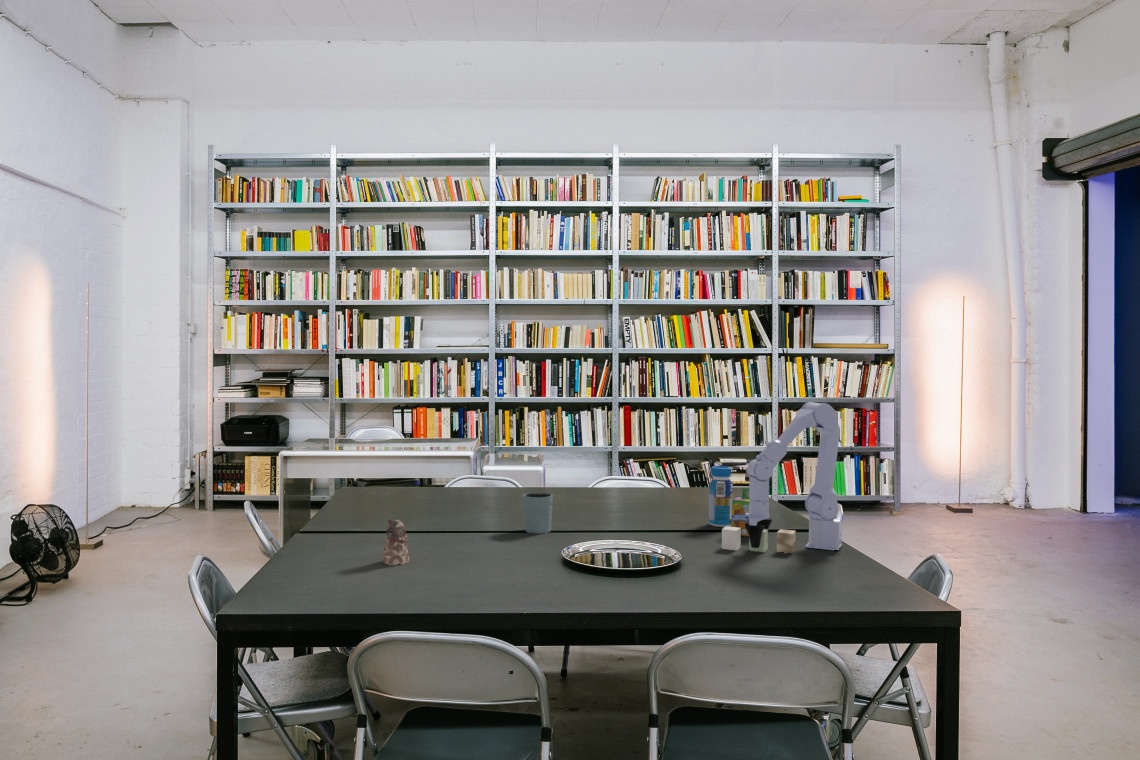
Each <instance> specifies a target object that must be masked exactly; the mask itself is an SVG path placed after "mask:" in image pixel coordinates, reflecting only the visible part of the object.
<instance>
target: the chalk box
mask: <svg viewBox="0 0 1140 760" xmlns="http://www.w3.org/2000/svg"><path fill="white" fill-rule="evenodd" d="M741 493H742V494H741V495H740V496H738V497H735V498H733V500H732V521H731V526H730V527H738V528H741V537H747V538H748V537H749V534H748V531H747V529H746V528H745V523H749V517H748V516H745V513H749V495H747V493H749V488H747V487H746V488H745V487H744V488H742V492H741Z"/></svg>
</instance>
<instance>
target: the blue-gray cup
mask: <svg viewBox="0 0 1140 760" xmlns="http://www.w3.org/2000/svg"><path fill="white" fill-rule="evenodd" d="M553 502H554V501H553V494H552V493H550V492H527V493H523V494H522V503H523V515H524V517H523V518H524V530H525V532H526V533H529V534H546V533H550V532H551V531H552V513H553Z"/></svg>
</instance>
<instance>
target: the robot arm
mask: <svg viewBox="0 0 1140 760" xmlns="http://www.w3.org/2000/svg"><path fill="white" fill-rule="evenodd" d="M837 414H838V412H837V411H836V410H835V409H834V408H833V406H831V405H830V404H828V403H821V402H813V401H807V402H805V403H804V404H803V405H802V407H801V408H800V409H798V410H797V412H796V414H795V416H794V418H793V419H792V420H791V422H790V423H789V424H788V426H787V427H786V428H785V430H784V431H783V432H782V433H781V435H780V436H779V437H778V438H777V439H774V440H770V441H768V442H766V443H765V448H764V449H762V451H761V452H760V453H759V454H757V455H756V456H755V459H752V460H751V461H750V462H749V463H748V465H747V467H746V468H745V472H746V474H747V476H748V477H749V482H748V483H749V484H748V485H749V488H748V489H749V492H748V494H749V495H748V496H749V513H745V516H748V517H749V523H745V528H746V529H747V531H748V534H749V538H750V543H751V547H752V548H759V546H760V541H761V535H762V531H763V529H768V530H769V528H770V526H771V523H772V521H773V518H770V514H769V513H770V511H769V510H770V509H769V508H770V507H769V506H770V504H769V503H770V501H769V499H770V478H771V477H772V476H773V475H774V469H775V467H776V466H777V465H778V464H779V463H780V462H781V460H782V459H783V458H784V457H785V456H786V454H787V453H788V446H789V445H790V444H791V443H792V442H794V440H795V439H796V438H797V437H798V436H799V435H800V434H801V433H802V432H803V431H804V430H805V429H808V428H815V429H816V431H817V432H819V434H820V438H819V446H818V453H817V454H818V455H817V460H816V461H817V462H816V468H815V478H814V484H813V485H812V487H810V489H809V492H808V493H809V494H808V496H807V497H806V498H805V502H804V506H805V509H806V510H807V512H808V516H809V519H808V542H807V544H806V545H805V548H811V549H820V550H827V551H829V550H830V551H834V550H838V551H839V550H840V549H839V548H841V547H842V546H843V544H842V540H843V537H842V535H843V534H842V532H843V531H842V530H843V527H842V525H843V524H842V523H843V522H842V520H841V519H837V518H835V517H836V516H837V515H838V514H839V509H840V508H839V507H840V506H839V503H838V494H837V493H836V492H837V491H836V490H835V488H834V484H835V483H834V482H835V475H836V468H837V467H836V466H837V459H838V458H837V457H838V451H839V443H840V435H841V428H840V425H839V421H838V419H837Z"/></svg>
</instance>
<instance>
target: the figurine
mask: <svg viewBox="0 0 1140 760" xmlns="http://www.w3.org/2000/svg"><path fill="white" fill-rule="evenodd" d="M387 523H388V524H389V525H388V526H387V528H386V540H385V544H384V547H383V554H382V561H383V564H384V563H385V564H384V565H386V564H388V565H387V566H399V565H398V564H403V565H405V564H404V563H407V562H408V561H409V562H410V554H409V547H408V539H407V538H409V537H408V536H409V535H407V532H406V530H405V527H404V525H405V524H404V523H403V522H402V521H401V520H400V519H395V520H394V519H391V518H389V519H387ZM409 562H408V563H409ZM408 563H407V564H408Z"/></svg>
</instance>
